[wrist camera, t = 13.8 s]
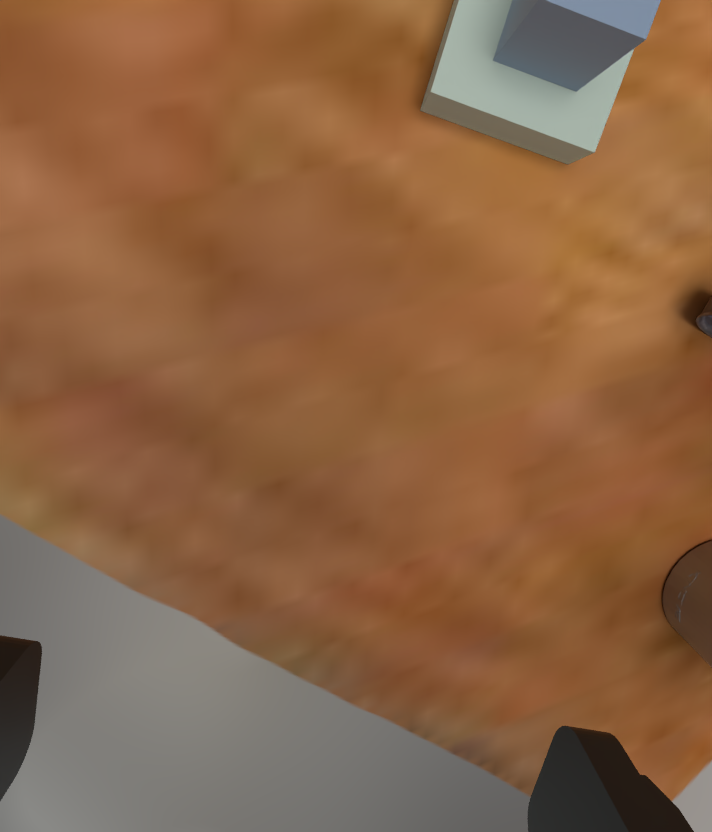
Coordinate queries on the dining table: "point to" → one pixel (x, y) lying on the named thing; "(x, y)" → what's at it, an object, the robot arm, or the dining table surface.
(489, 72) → the sage tile
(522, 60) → the slate block
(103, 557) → the dining table surface
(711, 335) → the tin
